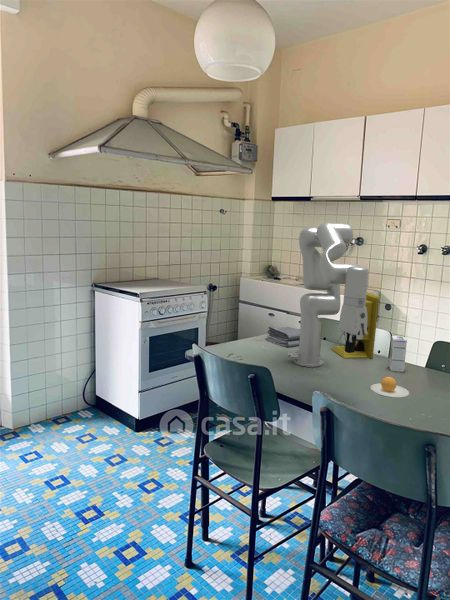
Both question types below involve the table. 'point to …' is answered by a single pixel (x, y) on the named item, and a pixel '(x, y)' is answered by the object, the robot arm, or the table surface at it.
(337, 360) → the table surface
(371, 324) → the vintage telephone
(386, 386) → the ball
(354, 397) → the table surface
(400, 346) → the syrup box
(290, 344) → the towel
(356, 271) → the robot arm
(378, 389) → the disc
